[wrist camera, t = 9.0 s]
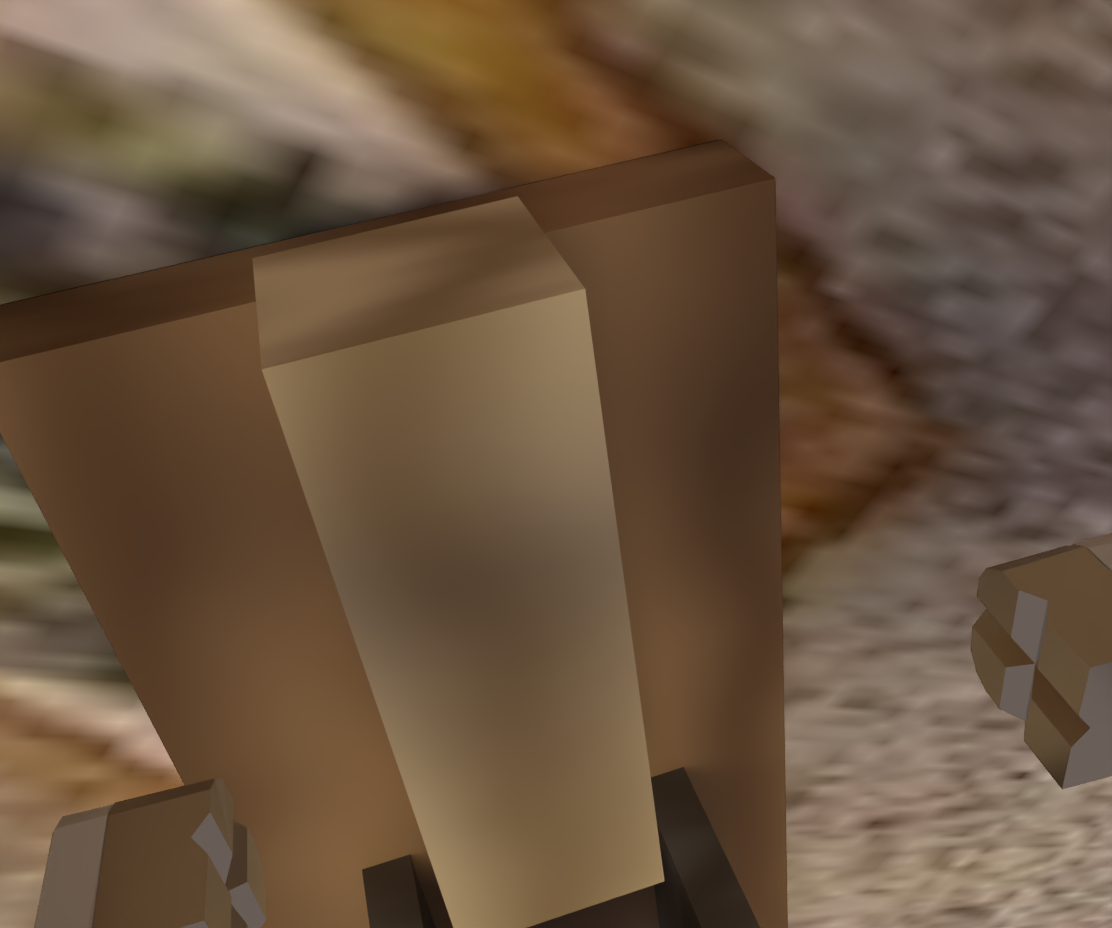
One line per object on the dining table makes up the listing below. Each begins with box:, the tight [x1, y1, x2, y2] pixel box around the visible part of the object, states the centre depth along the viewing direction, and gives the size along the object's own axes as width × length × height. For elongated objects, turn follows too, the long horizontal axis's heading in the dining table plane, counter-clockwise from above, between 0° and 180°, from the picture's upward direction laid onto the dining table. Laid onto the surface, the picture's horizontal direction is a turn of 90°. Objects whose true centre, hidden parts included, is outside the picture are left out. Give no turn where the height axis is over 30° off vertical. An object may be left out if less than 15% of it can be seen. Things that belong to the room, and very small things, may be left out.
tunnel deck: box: [0, 140, 788, 928], centre depth 26 cm, size 14×32×8 cm, turn 9°
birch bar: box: [252, 196, 664, 928], centre depth 20 cm, size 4×14×4 cm, turn 9°
